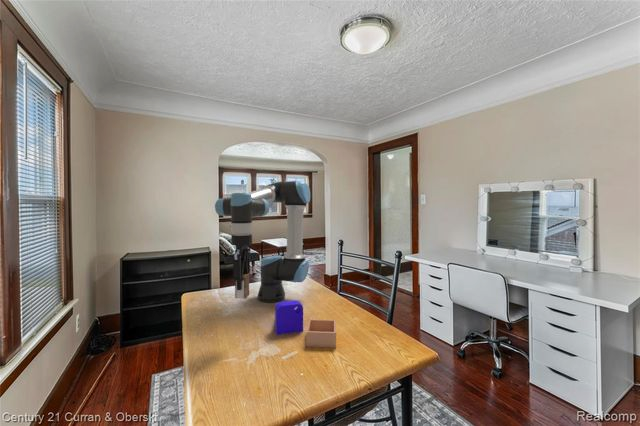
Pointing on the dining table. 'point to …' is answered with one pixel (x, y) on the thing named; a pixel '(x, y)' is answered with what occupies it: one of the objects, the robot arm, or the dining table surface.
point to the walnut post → (245, 285)
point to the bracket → (288, 317)
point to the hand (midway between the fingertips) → (242, 295)
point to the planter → (321, 333)
